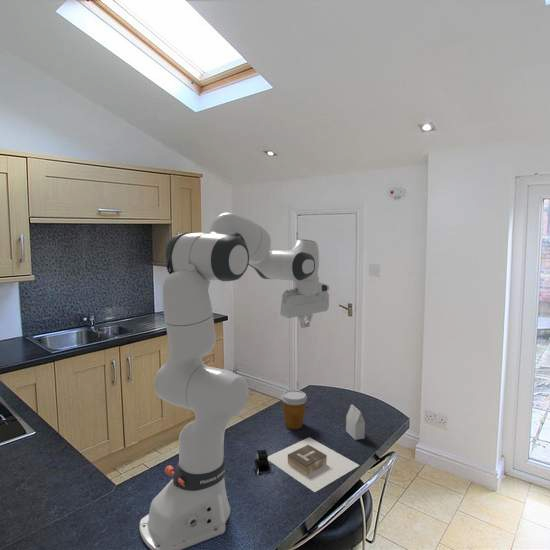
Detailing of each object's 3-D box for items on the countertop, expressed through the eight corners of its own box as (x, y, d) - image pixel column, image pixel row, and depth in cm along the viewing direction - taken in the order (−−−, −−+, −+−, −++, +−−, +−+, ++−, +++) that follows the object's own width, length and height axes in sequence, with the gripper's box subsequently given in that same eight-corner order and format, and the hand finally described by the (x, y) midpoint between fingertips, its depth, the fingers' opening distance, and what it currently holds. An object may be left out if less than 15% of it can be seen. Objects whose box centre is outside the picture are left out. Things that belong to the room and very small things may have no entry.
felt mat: (314, 492, 113) (314, 492, 113) (264, 458, 129) (264, 457, 129) (359, 465, 126) (359, 465, 126) (309, 437, 142) (309, 437, 142)
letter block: (326, 464, 126) (305, 475, 120) (308, 453, 132) (287, 463, 126) (326, 455, 126) (306, 466, 120) (308, 444, 132) (287, 454, 126)
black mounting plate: (277, 477, 120) (277, 463, 120) (252, 480, 119) (252, 465, 118) (269, 454, 132) (269, 441, 132) (247, 457, 131) (247, 443, 130)
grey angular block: (355, 440, 141) (355, 413, 139) (345, 431, 147) (346, 404, 146) (364, 438, 142) (365, 411, 141) (355, 429, 148) (355, 403, 147)
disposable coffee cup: (311, 423, 152) (311, 393, 151) (298, 434, 144) (299, 402, 143) (289, 417, 158) (289, 387, 156) (276, 427, 150) (276, 395, 148)
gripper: (289, 291, 129) (288, 333, 131) (332, 285, 142) (331, 324, 144) (276, 289, 134) (276, 330, 136) (319, 283, 147) (318, 321, 149)
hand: (305, 327), depth 140 cm, fingers closed
